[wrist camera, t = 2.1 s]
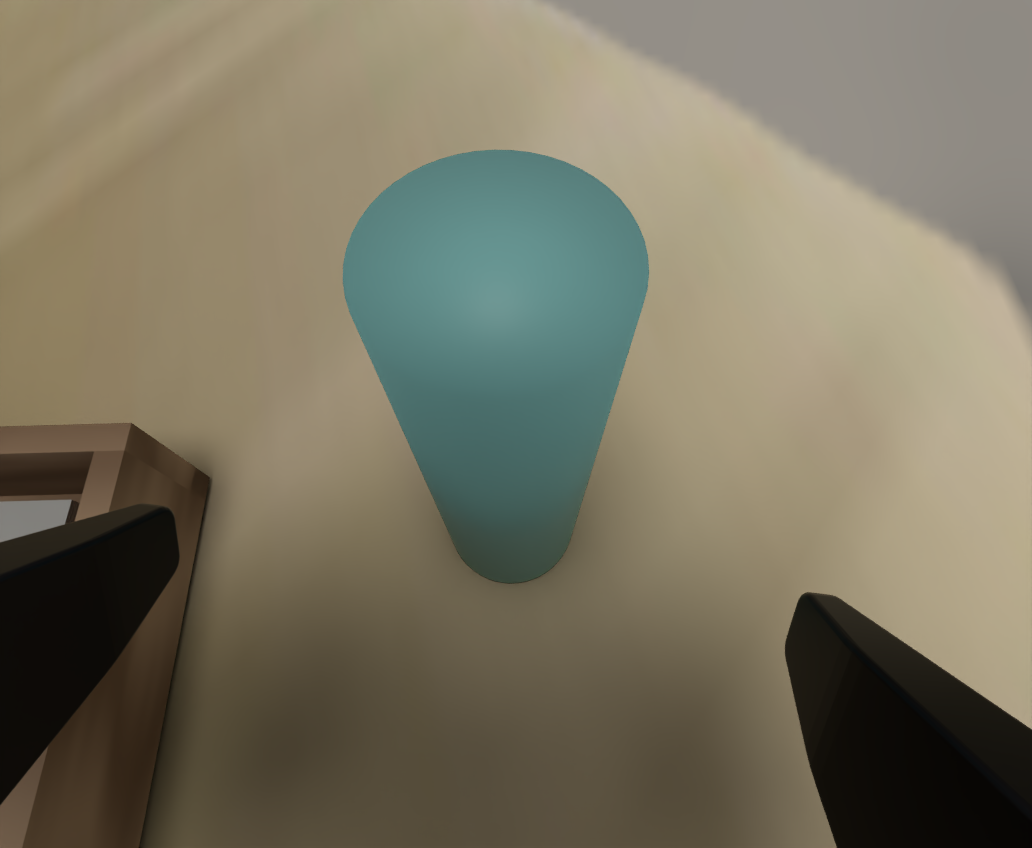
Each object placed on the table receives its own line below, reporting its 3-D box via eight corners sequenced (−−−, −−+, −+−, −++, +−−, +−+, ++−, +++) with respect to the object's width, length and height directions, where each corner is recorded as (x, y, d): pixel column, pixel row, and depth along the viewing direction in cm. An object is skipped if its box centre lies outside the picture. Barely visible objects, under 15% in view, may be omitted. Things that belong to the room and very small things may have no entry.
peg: (576, 581, 19) (668, 391, 7) (449, 585, 19) (328, 401, 7) (568, 462, 21) (632, 145, 9) (451, 465, 21) (355, 153, 9)
